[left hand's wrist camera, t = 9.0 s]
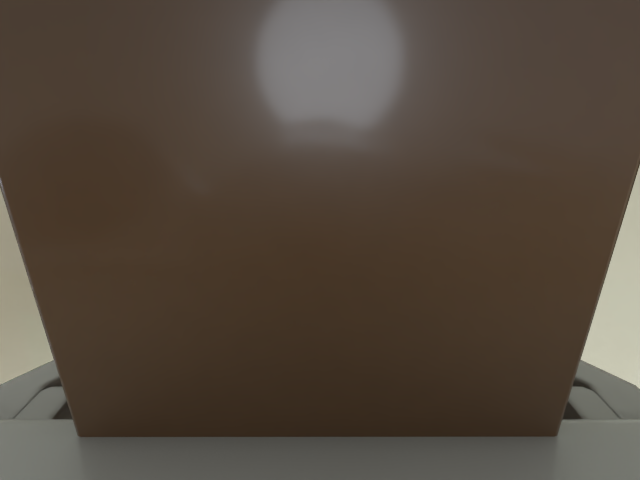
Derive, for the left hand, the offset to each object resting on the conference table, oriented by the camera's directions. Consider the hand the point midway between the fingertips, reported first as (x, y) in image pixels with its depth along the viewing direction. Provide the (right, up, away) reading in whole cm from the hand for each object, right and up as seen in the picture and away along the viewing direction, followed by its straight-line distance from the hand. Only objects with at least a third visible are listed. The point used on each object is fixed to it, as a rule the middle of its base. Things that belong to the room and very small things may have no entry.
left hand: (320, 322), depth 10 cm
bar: (0, +9, +1) cm, 9 cm away
